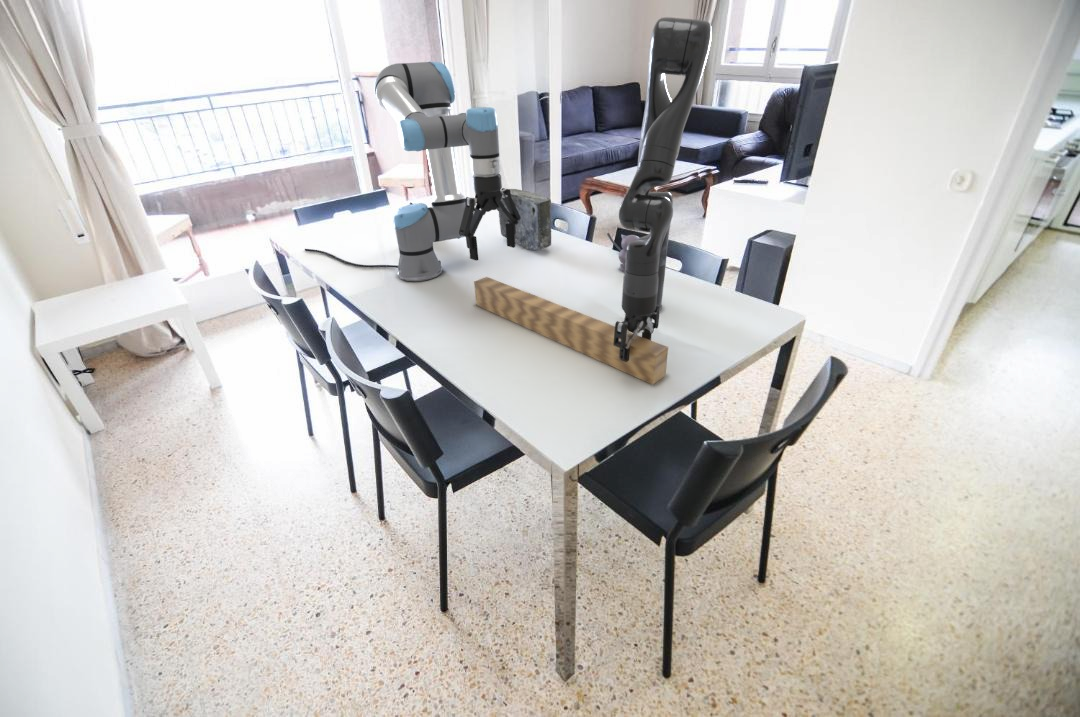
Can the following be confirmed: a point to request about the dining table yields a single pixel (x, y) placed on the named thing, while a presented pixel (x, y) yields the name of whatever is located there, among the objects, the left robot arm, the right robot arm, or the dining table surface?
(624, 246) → the cat figurine
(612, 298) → the dining table surface
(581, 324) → the beam
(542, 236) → the concrete block
